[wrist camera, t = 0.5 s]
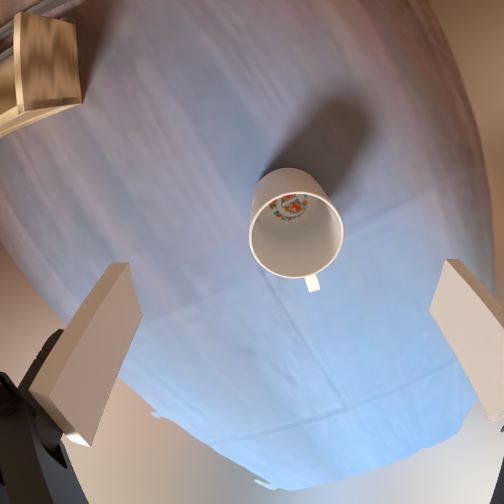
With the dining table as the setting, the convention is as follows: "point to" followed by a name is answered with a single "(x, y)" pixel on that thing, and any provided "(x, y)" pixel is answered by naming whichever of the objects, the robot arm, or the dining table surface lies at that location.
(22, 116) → the carcass
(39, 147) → the dining table surface
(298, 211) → the mug
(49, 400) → the robot arm
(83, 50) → the dining table surface
